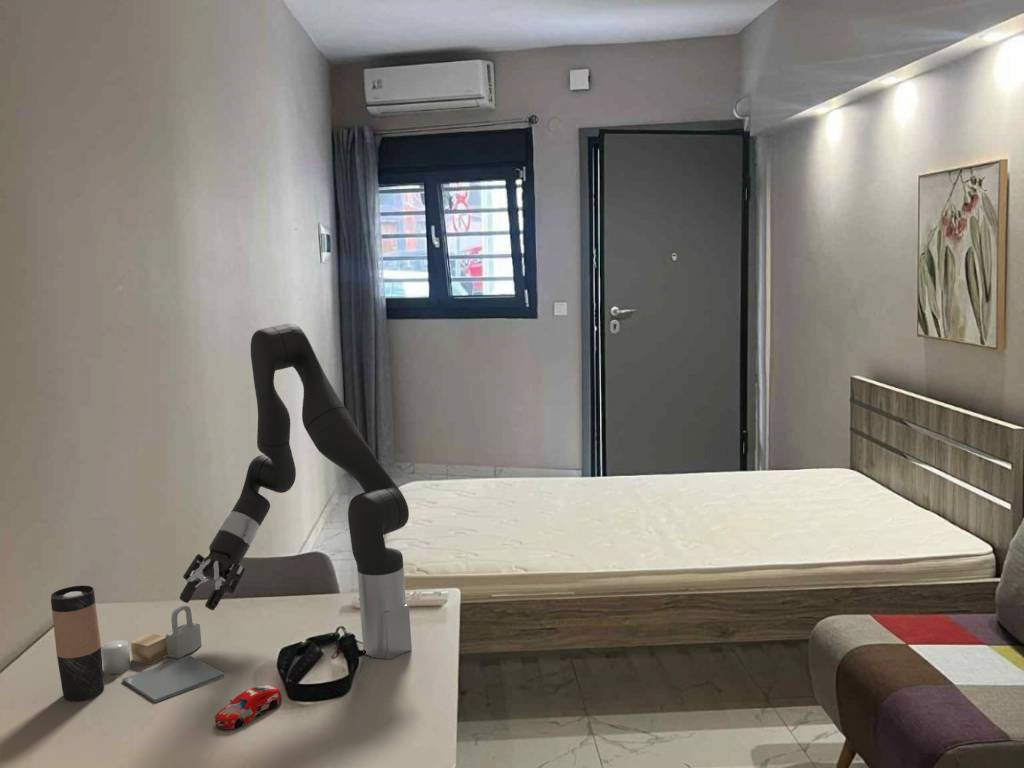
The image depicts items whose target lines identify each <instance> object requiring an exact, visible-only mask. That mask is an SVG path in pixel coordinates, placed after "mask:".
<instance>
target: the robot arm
mask: <svg viewBox="0 0 1024 768" xmlns="http://www.w3.org/2000/svg"><path fill="white" fill-rule="evenodd" d="M250 340H251V341H250V360H251V361H250V362H251V368H252V377H253V384H254V385H253V386H254V391H255V396H256V397H255V398H256V407H257V430H256V431H257V436H256V439H257V440H256V446H257V449H258V450H259V452H261V453H262V454H260V455H258V456H256V457H255V458H253V460H251V462H250V463H249V464H248V468H247V472H246V475H245V480H244V483H243V486H242V489H241V493H240V495H239V498H238V499H237V501H236V502H235V505H234V507H233V508H232V510H231V511H230V513H229V514H228V515H227V517H226V518H225V519H224V521H223V523H222V524H221V526H220V527H219V529H218V531H217V533H216V534H215V536H214V537H213V539H212V541H211V542H210V544H209V546H208V547H209V548H208V549H209V554H208V555H207V556H206V557H205V556H203V555H202V554H200V553H198V554H197V555H195V558H194V559H193V560H192V562H191V563H190V565H189V566H188V568H187V570H186V571H185V572H184V574H183V579H185V581H186V584H185V586H184V588H183V589H182V591H181V593H180V595H179V600H180V601H181V602H183V603H186V604H188V603H189V602H190V601H191V598H192V597H193V595H194V594H195V592H196V590H197V587H199V586H200V585H201V584H202V583H207V582H208V581H214V582H215V583H214V584H215V585H214V589H213V590H212V592H211V594H210V596H209V597H208V598H207V600H206V602H205V605H204V606H205V608H207V609H208V610H211V611H214V610H215V609H216V608H217V607H218V605H219V603H220V602H221V600H222V598H223V596H225V595H226V594H233V593H234V592H235V590H236V588H237V587H238V584H239V583H240V581H241V578H242V577H243V574H244V572H245V571H246V570H245V569H246V568H245V567H244V566H242V565H241V563H242V562H243V560H244V558H245V556H246V554H247V552H248V550H249V549H250V547H251V545H252V543H253V542H254V540H255V538H256V536H257V534H258V531H259V530H260V527H261V525H262V523H263V522H264V520H265V518H266V516H267V515H268V513H269V510H270V509H271V504H270V501H269V500H268V499H267V498H266V497H265V496H263V495H262V494H261V493H259V491H260V488H261V487H262V488H263V489H266V490H270V491H271V492H274V493H278V494H285V493H287V492H288V491H290V490H291V488H293V486H294V483H295V481H296V476H297V469H296V465H295V461H294V457H293V452H292V448H291V444H290V438H291V416H290V412H289V409H288V408H287V406H286V404H285V403H284V401H283V400H282V398H281V397H280V395H279V394H278V392H277V389H276V387H275V382H274V381H275V373H276V371H280V370H284V369H288V368H293V369H294V370H295V371H296V372H297V374H298V377H299V379H300V381H301V383H302V387H303V397H302V398H303V400H302V410H301V419H302V424H303V426H304V429H305V431H306V432H307V434H308V436H309V438H310V439H311V441H312V443H313V445H314V446H315V447H316V449H317V450H318V452H319V453H320V454H321V455H323V456H324V457H325V458H326V459H328V460H329V461H331V462H332V463H333V464H335V465H336V466H338V468H341V469H342V470H344V471H345V472H347V473H348V474H349V475H351V476H352V477H353V478H354V479H355V480H356V481H357V483H359V485H360V487H361V488H362V489H363V491H364V492H362V493H359V494H357V495H355V496H353V497H352V498H351V500H350V502H349V504H348V510H347V511H348V512H347V520H348V528H349V529H348V530H349V536H350V543H351V551H352V555H353V558H354V560H355V563H356V570H357V571H356V572H357V585H358V596H359V597H358V601H359V610H360V624H361V637H362V638H361V639H362V649H364V650H365V651H366V653H367V654H368V655H369V656H371V657H370V658H374V657H376V659H386V660H391V659H393V658H395V657H397V656H401V655H402V654H404V653H407V652H411V651H412V650H413V649H412V648H413V646H412V645H413V644H412V635H411V634H412V633H411V620H410V606H409V605H408V604H407V601H406V600H407V599H406V586H405V571H404V569H405V568H404V557H403V553H402V552H401V551H400V550H399V549H396V548H394V547H393V548H392V547H386V542H385V535H387V534H390V533H393V532H395V531H398V530H400V529H402V528H403V527H405V526H406V524H407V523H408V520H409V518H410V512H409V511H410V510H409V505H408V503H407V500H406V498H405V497H404V494H403V493H402V491H401V489H400V488H399V487H398V485H397V484H396V483H395V481H394V480H393V479H392V478H391V476H390V475H389V474H388V472H387V471H386V470H385V468H384V467H383V466H382V464H381V463H380V462H379V460H378V459H377V457H376V456H375V455H374V453H373V450H371V448H370V447H369V445H368V444H367V442H366V441H365V439H364V437H363V436H362V434H361V431H359V429H358V427H357V426H356V423H355V421H354V420H353V418H352V417H351V415H350V413H349V411H348V410H347V408H346V406H345V405H344V404H343V402H342V401H341V400H340V398H339V396H338V395H337V393H336V391H335V390H334V388H333V386H332V384H331V382H330V381H329V379H328V377H327V375H326V374H325V371H324V370H323V368H322V365H321V364H320V362H319V359H318V357H317V355H316V353H315V351H314V348H313V346H312V345H311V342H310V340H309V339H308V337H307V334H305V332H304V331H303V330H302V328H301V327H300V326H299V325H297V324H296V323H292V322H291V323H284V324H279V325H274V326H270V327H269V326H268V327H265V328H261V329H258V330H256V331H255V332H254V333H253V335H252V336H251V339H250ZM192 572H193V574H192ZM191 574H192V575H191ZM231 582H232V583H231ZM369 656H368V657H369Z"/></svg>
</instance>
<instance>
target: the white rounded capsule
mask: <svg viewBox="0 0 1024 768" xmlns="http://www.w3.org/2000/svg"><path fill="white" fill-rule="evenodd" d="M129 646H130V645H129V642H128V641H127V640H123V639H117V640H113V641H108V642H106V643H105V644H103V645H101V653H102V666H103V674H105V675H117V674H122V673H124V672H126V671H128V670H129V669H130V668H131V666H132V665H131V658H130V657H131V656H130V648H129Z"/></svg>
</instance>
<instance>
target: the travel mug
mask: <svg viewBox="0 0 1024 768" xmlns="http://www.w3.org/2000/svg"><path fill="white" fill-rule="evenodd" d="M96 603H97V602H96V597H95V589H94V587H92V586H90V585H75V586H74V585H73V586H68V587H64V588H61V589H58V590H55V591H54V592H53V593H51V595H50V605H51V614H52V624H53V633H54V641H55V649H56V657H57V664H58V672H59V677H60V682H61V690H62V695H63V699H64V700H65V701H67V702H72V701H77V702H83V700H84V701H88V700H91V699H94V698H96V697H98V696H100V695H101V694H102V693H103V692H104V690H105V683H104V668H103V659H102V650H101V647H102V644H101V637H100V636H101V635H100V629H99V628H100V627H99V626H100V625H99V621H98V613H97V604H96Z"/></svg>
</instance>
